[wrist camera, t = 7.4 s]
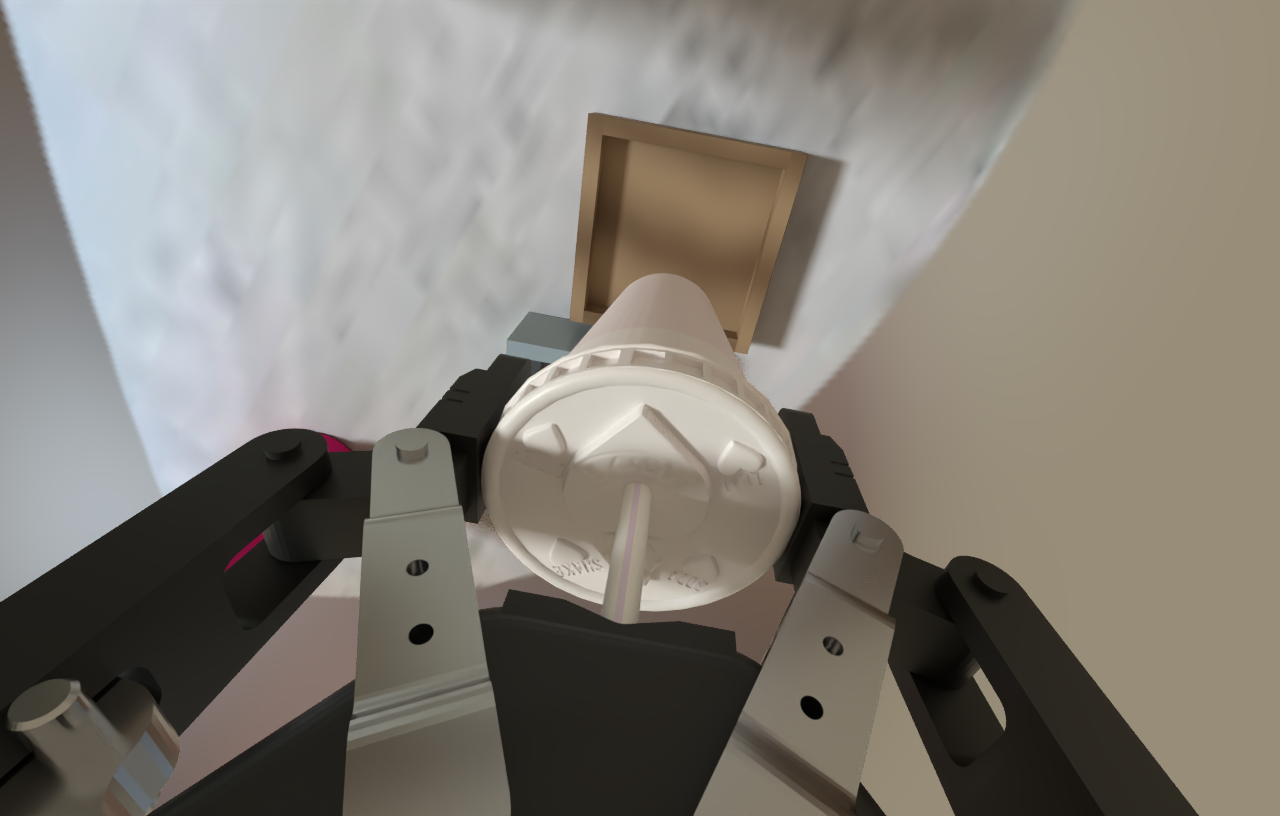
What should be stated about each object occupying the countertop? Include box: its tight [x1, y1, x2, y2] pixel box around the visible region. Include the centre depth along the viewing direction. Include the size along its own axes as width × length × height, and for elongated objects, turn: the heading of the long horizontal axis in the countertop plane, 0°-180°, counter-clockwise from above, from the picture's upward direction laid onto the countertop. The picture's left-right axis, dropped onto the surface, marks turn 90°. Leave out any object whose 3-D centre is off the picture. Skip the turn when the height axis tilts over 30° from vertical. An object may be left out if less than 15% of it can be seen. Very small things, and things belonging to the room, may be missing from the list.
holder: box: [507, 312, 594, 376], centre depth 33 cm, size 9×9×4 cm
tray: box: [569, 113, 808, 354], centre depth 29 cm, size 11×11×2 cm
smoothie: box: [481, 273, 801, 624], centre depth 12 cm, size 6×6×14 cm
